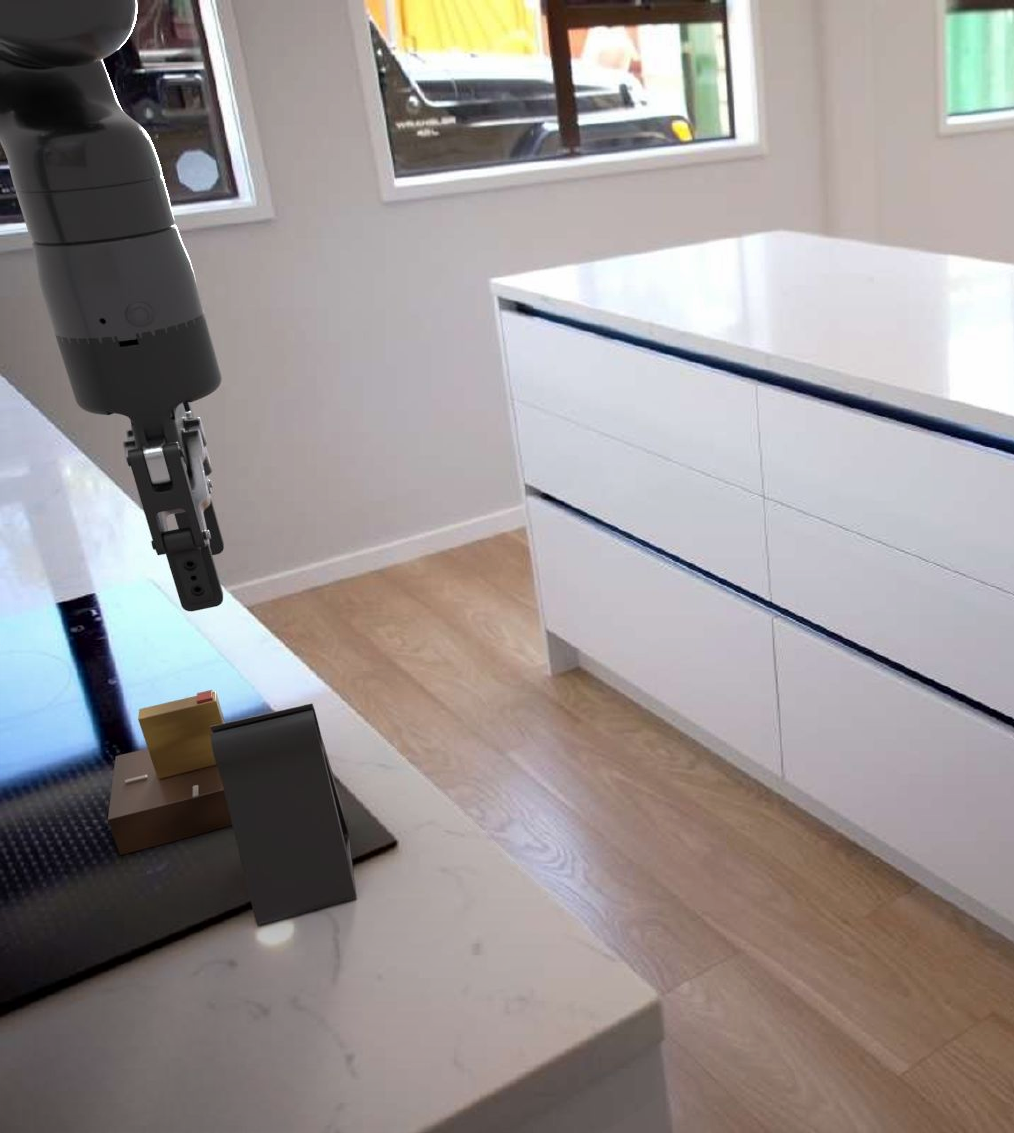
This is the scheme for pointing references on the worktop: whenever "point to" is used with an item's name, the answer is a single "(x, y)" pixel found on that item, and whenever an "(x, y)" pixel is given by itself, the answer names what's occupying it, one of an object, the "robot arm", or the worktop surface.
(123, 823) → the plate
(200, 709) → the lock knob
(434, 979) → the worktop surface
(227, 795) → the phone stand
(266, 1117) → the worktop surface
